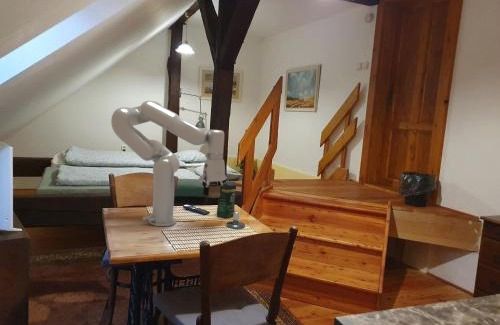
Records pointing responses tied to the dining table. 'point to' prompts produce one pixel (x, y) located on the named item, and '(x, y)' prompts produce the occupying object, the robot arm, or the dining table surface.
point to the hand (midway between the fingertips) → (212, 194)
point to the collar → (214, 191)
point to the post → (235, 222)
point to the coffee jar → (226, 200)
